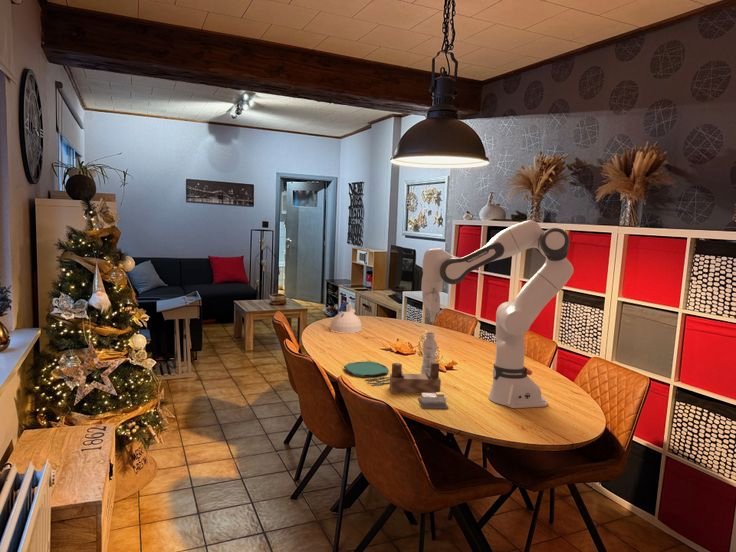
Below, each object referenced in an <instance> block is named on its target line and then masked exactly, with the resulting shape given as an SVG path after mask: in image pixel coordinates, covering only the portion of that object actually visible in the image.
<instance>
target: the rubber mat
mask: <svg viewBox="0 0 736 552" xmlns="http://www.w3.org/2000/svg"><path fill="white" fill-rule="evenodd" d="M417 400H418V402H419V405H420V407H421V406H422V407H421V408H422V410H424V409H425V410H449V409H450V408H449V406H448V404H447V403H446V405H423V404H422V402H421V397H418V398H417Z"/></svg>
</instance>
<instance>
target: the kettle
mask: <svg viewBox="0 0 736 552" xmlns="http://www.w3.org/2000/svg"><path fill="white" fill-rule="evenodd" d="M345 306H347V307H348V309H347V310H348V311H343V309H344V308H345ZM337 311H338V314H336V315H335V316H334V317H333V318H332V320H331V322H330V325H329V326H330V327H329V330H330V329H331V330H333V331H337V332H344V333H355V332H359V331H361V330H362V331H363V328H362V327H363V325H362V320H361V319H360V318H359V316H357V315H356V314H355V313H356V310H355V308H353V306H352V303H351V302H349V301H345V302H344V303H342V304H341V305H340V307H339V308H338V310H337ZM342 311H343V312H342ZM362 331H361V332H362ZM355 334H356V333H355Z"/></svg>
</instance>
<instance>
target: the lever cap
mask: <svg viewBox="0 0 736 552" xmlns="http://www.w3.org/2000/svg"><path fill="white" fill-rule="evenodd" d="M420 398H421V402H422V404H423V405H446V404H447V397H446V394H445V393H444V392H443V391H440V392H436V393H421V394H420Z"/></svg>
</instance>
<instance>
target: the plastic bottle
mask: <svg viewBox="0 0 736 552" xmlns="http://www.w3.org/2000/svg"><path fill="white" fill-rule="evenodd" d="M437 343H438V342H437V341H436V340H435V333H434V332H426V333H425V339H424V340H423V342H422V364H421V368H420V374H426V372H429V374H430V371H431V362H436V352H437V349H438V344H437Z"/></svg>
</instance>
